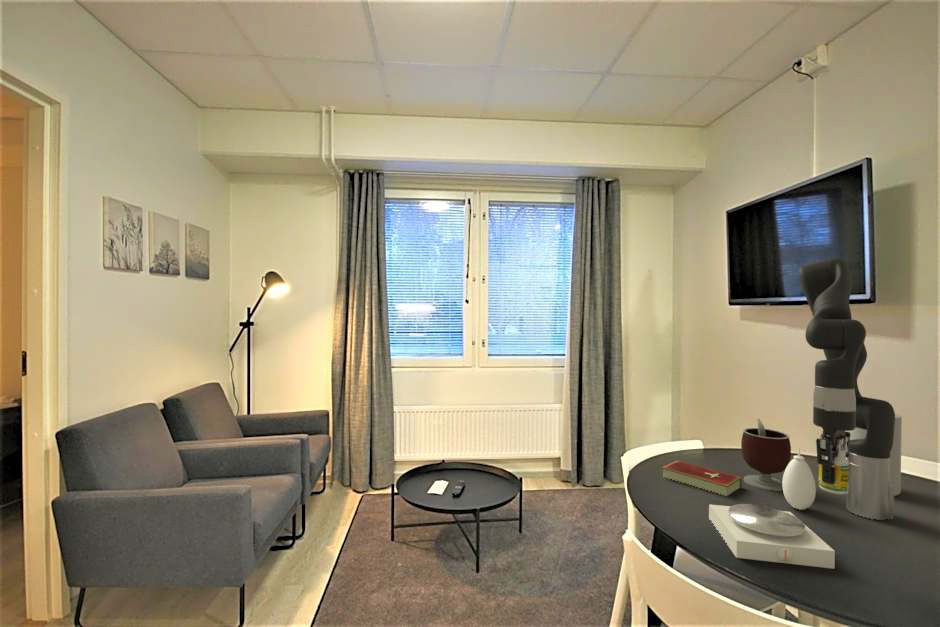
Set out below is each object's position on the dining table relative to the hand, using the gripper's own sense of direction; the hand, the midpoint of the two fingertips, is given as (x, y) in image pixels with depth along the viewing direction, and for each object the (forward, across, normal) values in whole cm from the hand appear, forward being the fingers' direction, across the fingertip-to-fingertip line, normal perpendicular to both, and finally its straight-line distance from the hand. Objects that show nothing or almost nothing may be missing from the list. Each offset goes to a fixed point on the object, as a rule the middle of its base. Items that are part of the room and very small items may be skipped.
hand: (833, 479), depth 101 cm
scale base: (+19, +2, -13) cm, 23 cm away
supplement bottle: (+3, 0, 0) cm, 3 cm away
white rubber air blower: (+20, -28, -16) cm, 37 cm away
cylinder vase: (+20, -65, -8) cm, 69 cm away
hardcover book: (+20, -23, -43) cm, 53 cm away
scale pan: (+14, +2, -13) cm, 19 cm away
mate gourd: (+20, -41, -30) cm, 55 cm away
